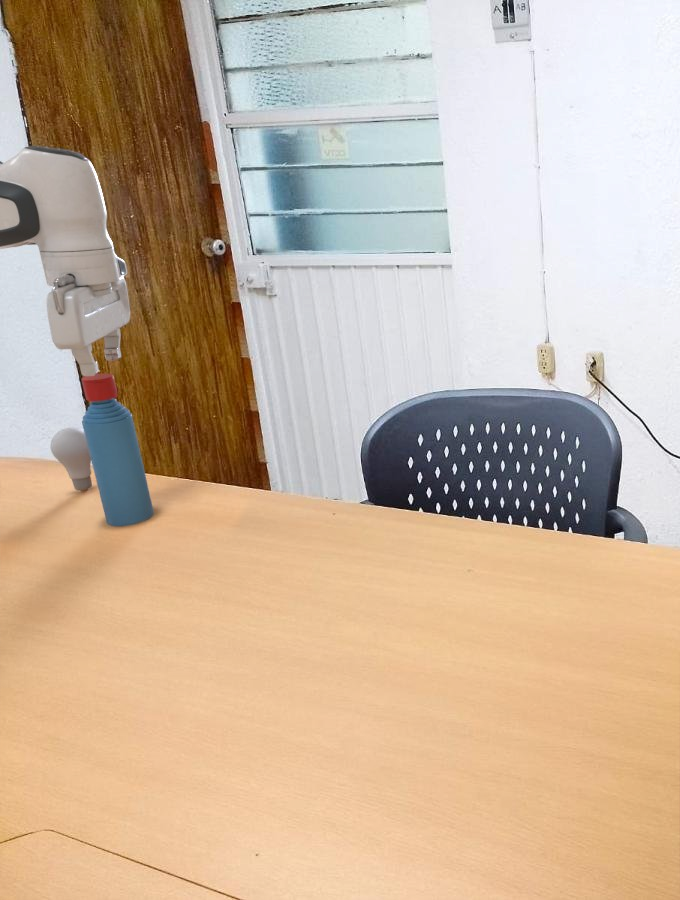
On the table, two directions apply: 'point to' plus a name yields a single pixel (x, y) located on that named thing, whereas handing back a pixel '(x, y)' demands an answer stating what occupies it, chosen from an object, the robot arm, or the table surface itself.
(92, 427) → the bottle
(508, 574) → the table surface
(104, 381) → the cap
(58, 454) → the lightbulb
